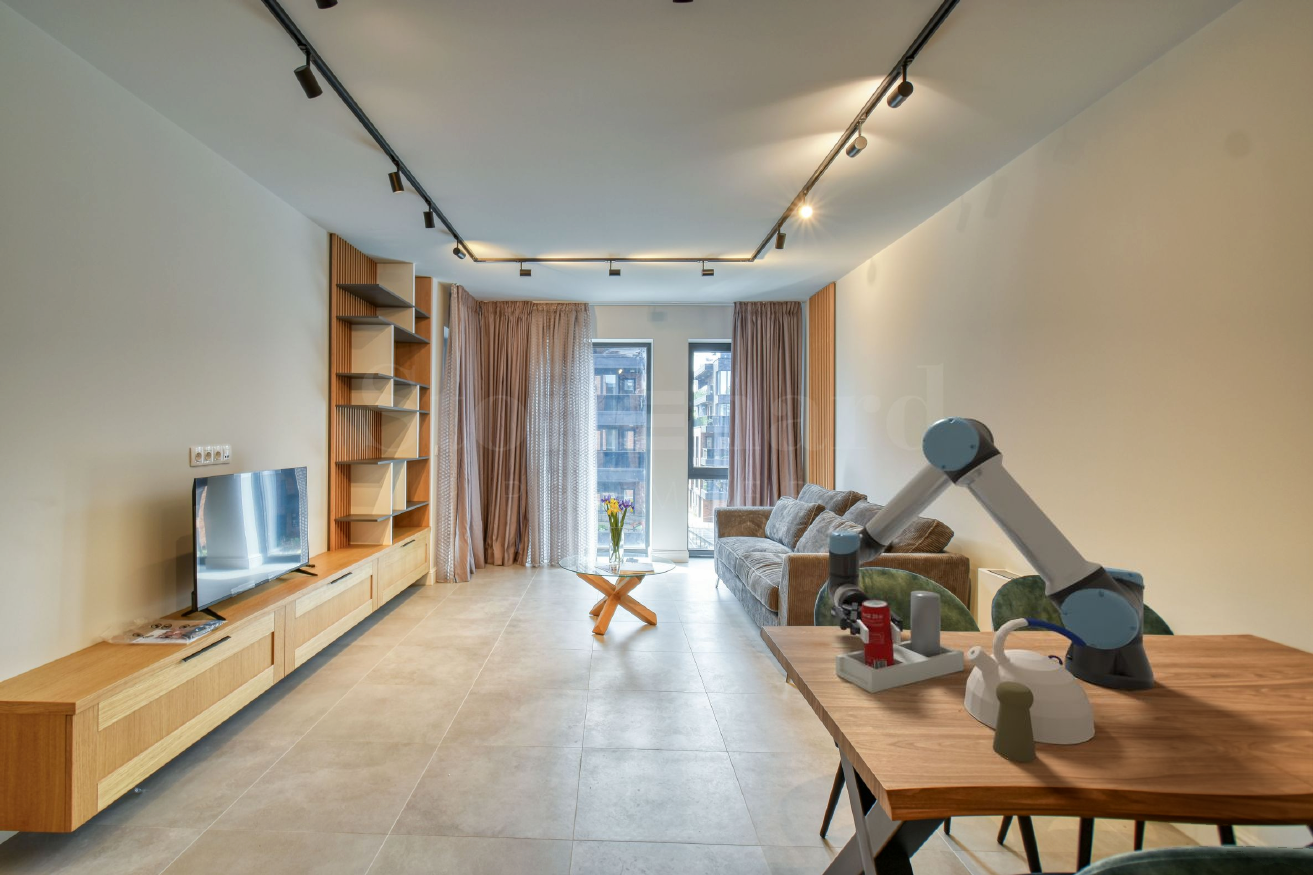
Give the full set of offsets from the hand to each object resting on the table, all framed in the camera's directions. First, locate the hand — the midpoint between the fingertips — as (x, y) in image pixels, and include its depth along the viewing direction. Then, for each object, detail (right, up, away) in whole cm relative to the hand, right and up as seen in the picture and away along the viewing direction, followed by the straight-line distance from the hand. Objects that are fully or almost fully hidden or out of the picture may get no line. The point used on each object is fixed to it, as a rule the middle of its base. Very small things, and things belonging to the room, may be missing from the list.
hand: (882, 636), depth 119 cm
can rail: (+7, -10, +8) cm, 15 cm away
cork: (+12, -11, -23) cm, 29 cm away
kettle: (+22, -11, -11) cm, 27 cm away
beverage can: (+1, -10, +5) cm, 11 cm away
